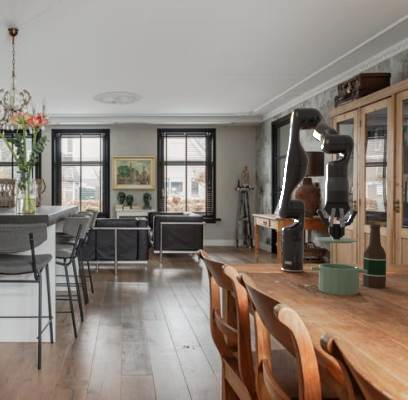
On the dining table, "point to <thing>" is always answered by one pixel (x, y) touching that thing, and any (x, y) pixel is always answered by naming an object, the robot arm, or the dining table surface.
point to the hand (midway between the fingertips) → (336, 237)
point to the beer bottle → (374, 260)
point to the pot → (339, 278)
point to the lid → (336, 237)
